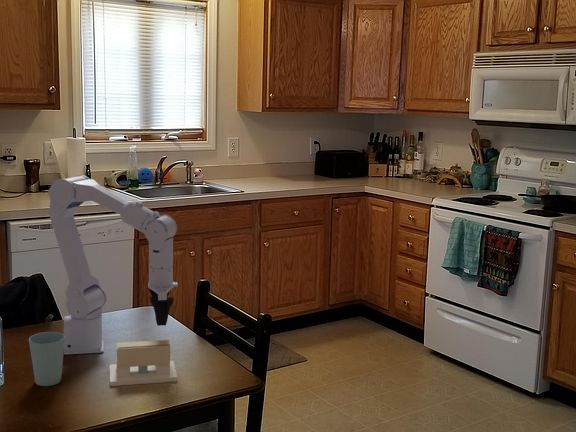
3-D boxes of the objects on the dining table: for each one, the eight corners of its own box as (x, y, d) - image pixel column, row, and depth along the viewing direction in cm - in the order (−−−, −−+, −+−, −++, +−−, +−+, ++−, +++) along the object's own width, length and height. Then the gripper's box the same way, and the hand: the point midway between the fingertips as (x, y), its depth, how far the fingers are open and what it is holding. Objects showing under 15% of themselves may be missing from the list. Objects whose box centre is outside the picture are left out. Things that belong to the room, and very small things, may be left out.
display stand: (109, 386, 154) (109, 373, 154) (109, 368, 164) (109, 356, 163) (177, 381, 158) (177, 369, 158) (173, 364, 168) (173, 352, 167)
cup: (47, 391, 151) (46, 346, 149) (22, 383, 154) (20, 339, 152) (73, 379, 157) (72, 335, 156) (48, 372, 161) (47, 329, 159)
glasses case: (117, 367, 157) (116, 348, 156) (116, 360, 161) (116, 342, 160) (170, 364, 160) (170, 345, 159) (168, 357, 164) (168, 339, 163)
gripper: (180, 273, 160) (179, 329, 163) (175, 258, 174) (175, 309, 177) (149, 274, 159) (149, 330, 161) (147, 259, 173) (147, 310, 175)
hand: (160, 319), depth 169 cm, fingers open, 7 cm apart
